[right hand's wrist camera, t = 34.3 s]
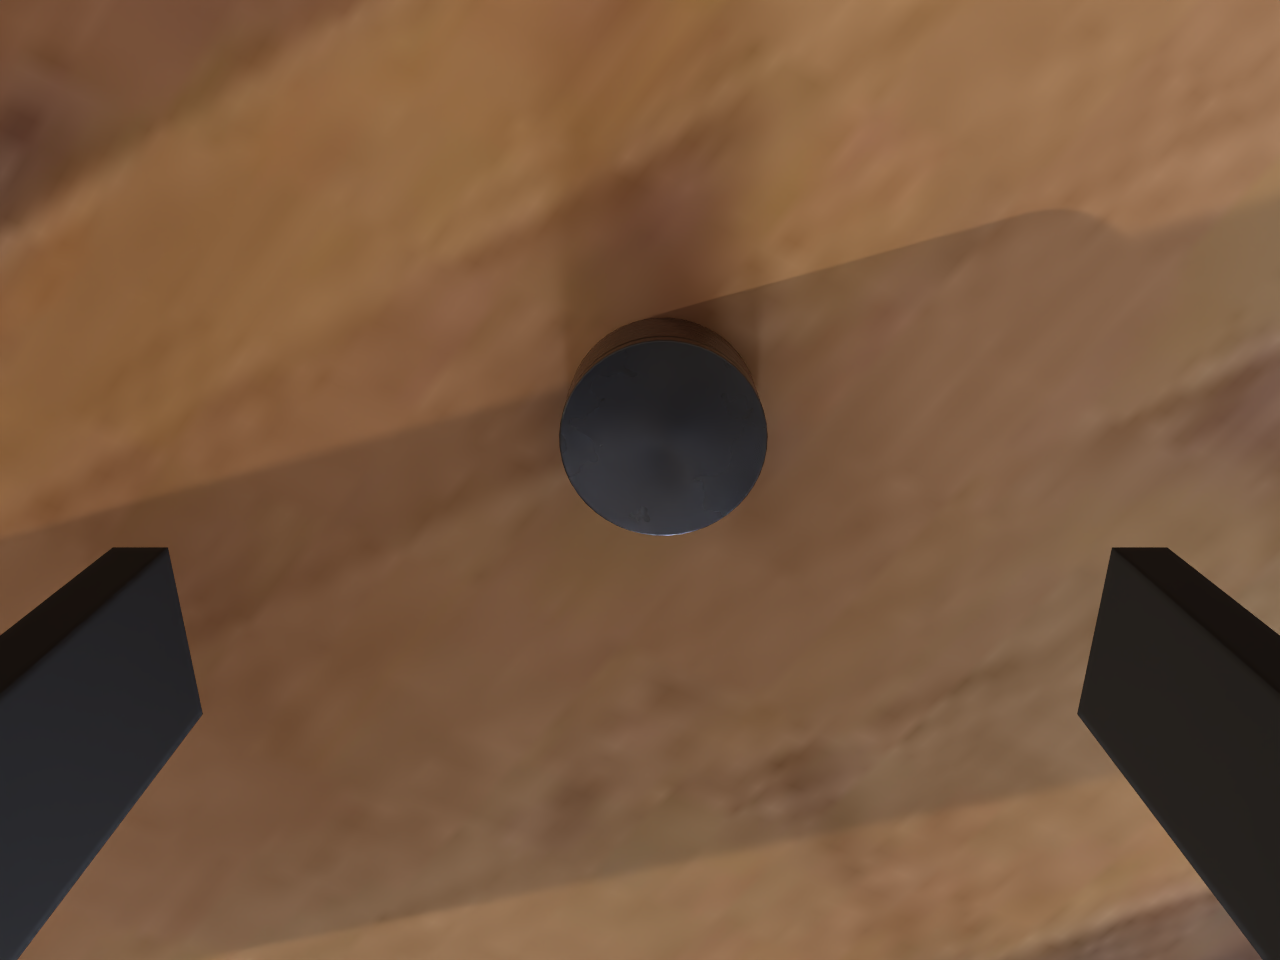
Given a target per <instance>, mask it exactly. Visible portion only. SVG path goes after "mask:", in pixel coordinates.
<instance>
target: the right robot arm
mask: <svg viewBox="0 0 1280 960" xmlns="http://www.w3.org/2000/svg"><path fill="white" fill-rule="evenodd" d="M202 714H203V713H202V708H201V704H200V699H199V694H198V689H197V684H196V680H195V675H194V670H193V665H192V660H191V656H190V651H189V646H188V641H187V637H186V632H185V627H184V622H183V617H182V613H181V608H180V603H179V598H178V594H177V589H176V584H175V579H174V574H173V570H172V565H171V560H170V555H169V550H168V548H112V549H110V550H109V551H108V552H106V553H105V554H104V555H103V556H101V557H100V558H99V559H98V560H96V561H95V562H94V563H92V564H91V565H90V566H89V567H87V568H86V569H85V570H83V571H82V572H81V573H80V574H78V575H77V576H76V577H75V578H73V579H72V580H71V581H69V582H68V583H67V584H66V585H64V586H63V587H62V588H60V589H59V590H58V591H57V592H55V593H54V594H53V595H52V596H50V597H49V598H48V599H46V600H45V601H44V602H43V603H41V604H40V605H39V606H37V607H36V608H35V609H34V610H32V611H31V612H30V613H28V614H27V615H26V616H25V617H23V618H22V619H21V620H20V621H18V622H17V623H16V624H14V625H13V626H12V627H11V628H9V629H8V630H7V631H5V632H4V633H3V634H2V635H0V960H17V959H18V958H19V957H20V955H21V954H22V953H23V951H24V950H25V949H26V947H27V946H28V945H29V943H30V942H31V941H32V939H33V938H34V937H35V935H36V934H37V933H38V931H39V930H40V929H41V927H42V926H43V925H44V923H45V922H46V921H47V920H48V918H49V917H50V916H51V914H52V913H53V912H54V910H55V909H56V908H57V906H58V905H59V904H60V902H61V901H62V900H63V898H64V897H65V896H66V894H67V893H68V892H69V890H70V889H71V888H72V886H73V885H74V884H75V882H76V881H77V880H78V878H79V877H80V876H81V875H82V873H83V872H84V871H85V869H86V868H87V867H88V865H89V864H90V863H91V861H92V860H93V859H94V857H95V856H96V855H97V853H98V852H99V851H100V849H101V848H102V847H103V845H104V844H105V843H106V841H107V840H108V839H109V837H110V836H111V835H112V833H113V832H114V831H115V829H116V828H117V827H118V826H119V824H120V823H121V822H122V820H123V819H124V818H125V816H126V815H127V814H128V812H129V811H130V810H131V808H132V807H133V806H134V804H135V803H136V802H137V800H138V799H139V798H140V796H141V795H142V794H143V792H144V791H145V790H146V788H147V787H148V786H149V784H150V783H151V782H152V780H153V779H154V778H155V777H156V775H157V774H158V773H159V771H160V770H161V769H162V767H163V766H164V765H165V763H166V762H167V761H168V759H169V758H170V757H171V755H172V754H173V753H174V751H175V750H176V749H177V747H178V746H179V745H180V743H181V742H182V741H183V739H184V738H185V737H186V735H187V734H188V733H189V732H190V730H191V729H192V728H193V726H194V725H195V724H196V722H197V721H198V720H199V718H200V717H201V716H202ZM1077 714H1078V716H1079V717H1080V718H1081V720H1082V721H1083V722H1084V724H1085V725H1086V726H1087V728H1088V729H1089V730H1090V732H1091V733H1092V734H1093V735H1094V737H1095V738H1096V739H1097V741H1098V742H1099V743H1100V745H1101V746H1102V747H1103V749H1104V750H1105V751H1106V753H1107V754H1108V755H1109V757H1110V758H1111V759H1112V761H1113V762H1114V763H1115V765H1116V766H1117V767H1118V769H1119V770H1120V771H1121V773H1122V774H1123V775H1124V777H1125V778H1126V779H1127V780H1128V782H1129V783H1130V784H1131V786H1132V787H1133V788H1134V790H1135V791H1136V792H1137V794H1138V795H1139V796H1140V798H1141V799H1142V800H1143V802H1144V803H1145V804H1146V806H1147V807H1148V808H1149V810H1150V811H1151V812H1152V814H1153V815H1154V816H1155V818H1156V819H1157V820H1158V822H1159V823H1160V824H1161V826H1162V827H1163V828H1164V829H1165V831H1166V832H1167V833H1168V835H1169V836H1170V837H1171V839H1172V840H1173V841H1174V843H1175V844H1176V845H1177V847H1178V848H1179V849H1180V851H1181V852H1182V853H1183V855H1184V856H1185V857H1186V859H1187V860H1188V861H1189V863H1190V864H1191V865H1192V867H1193V868H1194V869H1195V871H1196V872H1197V873H1198V875H1199V876H1200V877H1201V878H1202V880H1203V881H1204V882H1205V884H1206V885H1207V886H1208V888H1209V889H1210V890H1211V892H1212V893H1213V894H1214V896H1215V897H1216V898H1217V900H1218V901H1219V902H1220V904H1221V905H1222V906H1223V908H1224V909H1225V910H1226V912H1227V913H1228V914H1229V916H1230V917H1231V918H1232V920H1233V921H1234V922H1235V924H1236V925H1237V926H1238V927H1239V929H1240V930H1241V931H1242V933H1243V934H1244V935H1245V937H1246V938H1247V939H1248V941H1249V942H1250V943H1251V945H1252V946H1253V947H1254V949H1255V950H1256V951H1257V953H1258V954H1259V955H1260V957H1261V958H1262V959H1263V960H1280V635H1278V634H1277V633H1276V632H1275V631H1273V630H1272V629H1271V628H1269V627H1268V626H1267V625H1266V624H1264V623H1263V622H1262V621H1260V620H1259V619H1258V618H1257V617H1255V616H1254V615H1253V614H1251V613H1250V612H1249V611H1248V610H1246V609H1245V608H1244V607H1243V606H1241V605H1240V604H1239V603H1237V602H1236V601H1235V600H1234V599H1232V598H1231V597H1230V596H1228V595H1227V594H1226V593H1225V592H1223V591H1222V590H1221V589H1220V588H1218V587H1217V586H1216V585H1214V584H1213V583H1212V582H1211V581H1209V580H1208V579H1207V578H1205V577H1204V576H1203V575H1202V574H1200V573H1199V572H1198V571H1197V570H1195V569H1194V568H1193V567H1191V566H1190V565H1189V564H1188V563H1186V562H1185V561H1184V560H1182V559H1181V558H1180V557H1179V556H1177V555H1176V554H1175V553H1174V552H1172V551H1171V550H1170V549H1168V548H1112V550H1111V555H1110V560H1109V565H1108V570H1107V574H1106V579H1105V584H1104V589H1103V594H1102V598H1101V603H1100V608H1099V613H1098V617H1097V622H1096V627H1095V632H1094V637H1093V641H1092V646H1091V651H1090V656H1089V660H1088V665H1087V670H1086V675H1085V680H1084V684H1083V689H1082V694H1081V699H1080V704H1079V708H1078V713H1077Z"/></svg>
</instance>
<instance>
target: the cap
mask: <svg viewBox="0 0 1280 960" xmlns="http://www.w3.org/2000/svg"><path fill="white" fill-rule="evenodd" d="M559 442H560V452H561V458H562V462H563V465H564V468H565V471H566V474H567V476H568V478H569V480H570V482H571V484H572V486H573V487H574V489H575V490H576V492H577V493H578V495H579V496H580V497H581V498H582V499H583V500H584V502H585V503H586V504H587V505H588V506H589V507H590V508H592V509H593V510H594V511H595V512H596V513H597V514H599V515H600V516H602V517H603V518H605V519H606V520H608V521H610V522H611V523H613V524H615V525H617V526H619V527H622V528H625V529H627V530H630V531H634V532H638V533H642V534H649V535H667V536H668V535H678V534H684V533H688V532H693V531H696V530H699V529H701V528H704V527H707V526H709V525H711V524H713V523H715V522H717V521H718V520H720V519H721V518H723V517H724V516H726V515H727V514H729V513H730V512H731V511H732V510H733V509H735V508H736V507H737V506H738V505H739V504H740V503H741V502H742V501H743V500H744V498H745V497H746V496H747V495H748V493H749V492H750V491H751V489H752V488H753V486H754V485H755V483H756V481H757V479H758V477H759V475H760V472H761V469H762V467H763V464H764V460H765V455H766V450H767V424H766V419H765V415H764V410H763V408H762V405H761V402H760V399H759V396H758V394H757V391H756V388H755V385H754V382H753V380H752V377H751V374H750V372H749V370H748V368H747V366H746V364H745V362H744V361H743V359H742V358H741V357H740V355H739V354H738V353H737V351H736V350H735V349H734V348H733V347H732V346H731V345H730V344H729V343H728V342H727V341H725V340H724V339H723V338H722V337H720V336H719V335H718V334H716V333H714V332H713V331H711V330H709V329H708V328H705V327H703V326H701V325H698V324H696V323H692V322H689V321H685V320H680V319H673V318H654V319H646V320H641V321H637V322H633V323H631V324H628V325H626V326H623V327H621V328H619V329H617V330H615V331H613V332H612V333H610V334H608V335H607V336H606V337H604V338H603V339H602V340H600V341H599V342H598V343H597V344H596V345H595V346H594V347H593V348H592V349H591V350H590V351H589V353H588V354H587V355H586V356H585V358H584V359H583V361H582V362H581V364H580V366H579V368H578V369H577V371H576V374H575V376H574V379H573V381H572V384H571V387H570V391H569V394H568V397H567V400H566V404H565V407H564V410H563V414H562V418H561V423H560V432H559Z"/></svg>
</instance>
